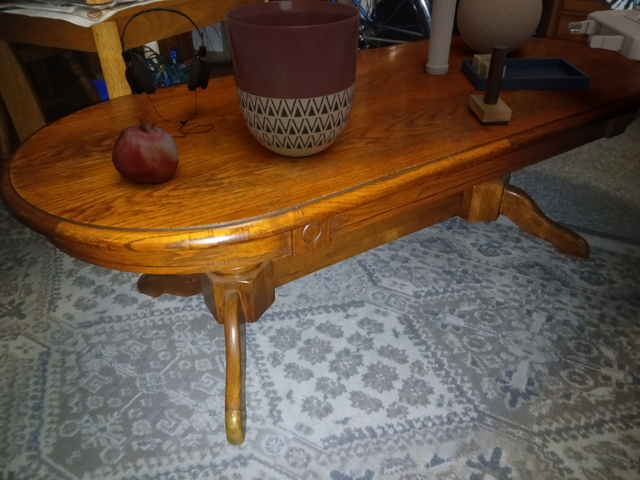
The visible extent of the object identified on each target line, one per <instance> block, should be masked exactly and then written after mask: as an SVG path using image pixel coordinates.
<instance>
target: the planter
mask: <svg viewBox="0 0 640 480" xmlns="http://www.w3.org/2000/svg"><path fill="white" fill-rule="evenodd" d="M224 22H225V23H224V24H225V29H226V36H227V41H228V48H229V52H230V53H229V54H230V59H231V65H232V72H233V78H234V84H235V90H236V96H237V101H238V105H239V110H240V112H241V115H242V119H243V121H244V123H245V125H246V127H247V129H248V131H249V133H251V135H252V137H254V139H255V140H256V141H257V142H258V143H260V144H261V145H262V146H264V147H265V148H266V149H268V150H269V151H271V152H273V153H276V154H277V155H281V156H284V157H293V158H294V157H295V158H296V157H297V158H298V157H306V156H312V155H315V154H318V153H320V152H323V151H324V150H326V149H327V148H328V147H330V146H331V145H332V144H333V143H334V142H336V141H337V140H338V138H340V136H341V135H342V133H343V132H344V130H345V129H346V127H347V125H348V123H349V120H350V117H351V114H352V110H353V106H354V99H355V89H356V88H355V87H356V78H357V64H358V50H359V40H360V39H359V38H360V30H361V29H360V27H361V11H360V9H359V8H358V7H356V6H353V5H351V4H347V3H342V2H336V1H330V0H329V1H327V0H273V1H272V0H271V1H261V2H255V3H250V4H249V3H248V4H244V5H240V6H236V7H233V8H231V9H229V10H228V11H226V13H224Z"/></svg>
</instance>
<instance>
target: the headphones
mask: <svg viewBox="0 0 640 480" xmlns="http://www.w3.org/2000/svg"><path fill="white" fill-rule="evenodd" d="M151 12H169V13H174V14H178V15H180V16H182V17H184V18H185V19H187V20H188V21H189V22H190V23H191V24H192V25H193V27H195V29H196V31H197V33H198V34H199V36H200V41H201V45H199V46H198V56H199V57H198V56H195V55H193V56H192V59H191V62H190V66H189V72H188V77H187V90H188V91H190V92H195V93H194V101H195V104H194V107H195V108H194V109H195V113H194V117H193V119H195V118H196V116H197V89H201V90H206V89H207V88H208V86H209V81H210V76H211V69H212V67H211V64H210V63H209V62H205V60H204V58H206V57H207V53H208V52H207V48H208V47H207V46H206V45H205V43H204V32H203V31H200V29H199V27H198V25H197V24H196V23H195V22H194V21H193V19H192V18H190V17H189V16H188V15H187V14H185V13H184V12H181V11H179V10H177V9H175V8H170V7H159V6H158V7H150V8H146V9H142V10H140V11H139V12H137V13H135V14H133V15H132V16H131V17H130V18H129V19H128V20H127V22H126V24H125V26H124V27H123V31H122V34H121V36H120V37H119V38H120V42H121V49H122V51H121V53H120V55H121V57H122V60H123V62H124V63H129V67H127V68H126V69H124V77H125V80H126V82H127V84H128V86H129V87H130V89H131V90H132V92H133V93H134V94H136V95H142V94H143V93H145V94H146V95H147V97H148V99H149V101H150V102H151V104H152V106H153V108H154V110H155V112H156V114H157V115H158V116H159V117H161V118H162V119H163V120H164V121H166V122H169V120H168V119H165V118H164V117H163V116H162V115H161V114H160V113H159V112H158V111H157V109H156V106H155V105H154V103H153V101H152V99H151V97H150V96H149V95H154V94H155V93H156V92H157V87H156V83H155V81H154V79H153V76H152V74H151V72H150V71H149V69H148V67H147V66H146V64H145V63H144V62H143V61H142V60H139V59H136V60H135V61H133V57H132V54H131V52H130V50H127V48H126V44H125V41H124V37H125V32H126V29H127V27H128V26H129V24H130V22H131V21H132V20H134V18H136V17H138V16H140V15H143V14H147V13H151ZM200 57H201V58H200ZM132 61H133V63H132ZM190 119H191V117H188V118H187V119H185V120H177V122H179V123H180V124H182V125H181V126H180V127H179V128H178V131H179V132H180V133H181V134H184V135H181V136H179V138H185V137H186V136H187V134H188V135H189V134H190V132H189V131H190V130H192V129H195V128H198V127H203V126H205V124H199V125H196V126H192V127H191V128H189V129H188V130H186V131H185V132H184V131H181V130H180V129H181V128H182V127H183V126H185V125H186V124H187V123H188V120H190ZM207 126H213V127H211V128H209V129H207V130H204V131H197V132H195V131H194V134H200V133H205V132H209V131H211V130H213V129H214V127H215V125H214V124H207ZM185 133H187V134H185ZM171 136H172V137H173V138H178V136H176V135H171Z"/></svg>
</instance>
